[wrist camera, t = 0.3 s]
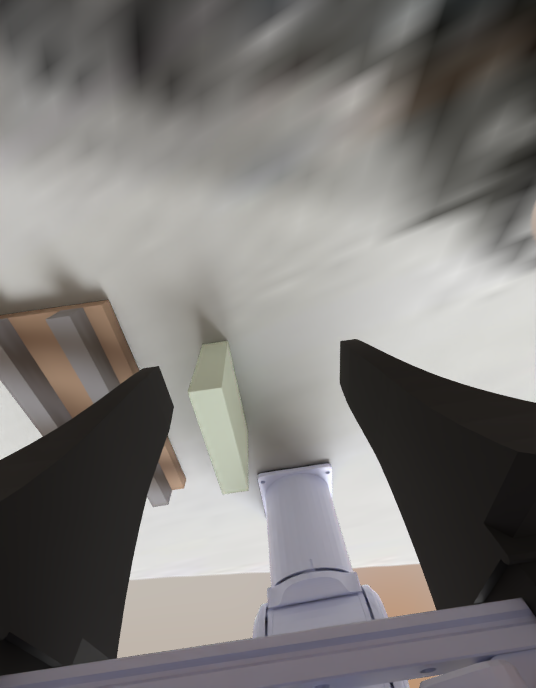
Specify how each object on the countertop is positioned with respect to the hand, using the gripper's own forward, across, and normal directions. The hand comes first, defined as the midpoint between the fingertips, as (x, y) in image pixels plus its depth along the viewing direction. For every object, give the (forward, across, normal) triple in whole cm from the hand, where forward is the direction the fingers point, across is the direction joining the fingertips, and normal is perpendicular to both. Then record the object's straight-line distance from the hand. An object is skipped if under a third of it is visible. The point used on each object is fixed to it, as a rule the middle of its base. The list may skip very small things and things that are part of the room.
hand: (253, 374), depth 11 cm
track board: (+10, +14, +9) cm, 19 cm away
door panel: (+10, +3, +8) cm, 13 cm away
